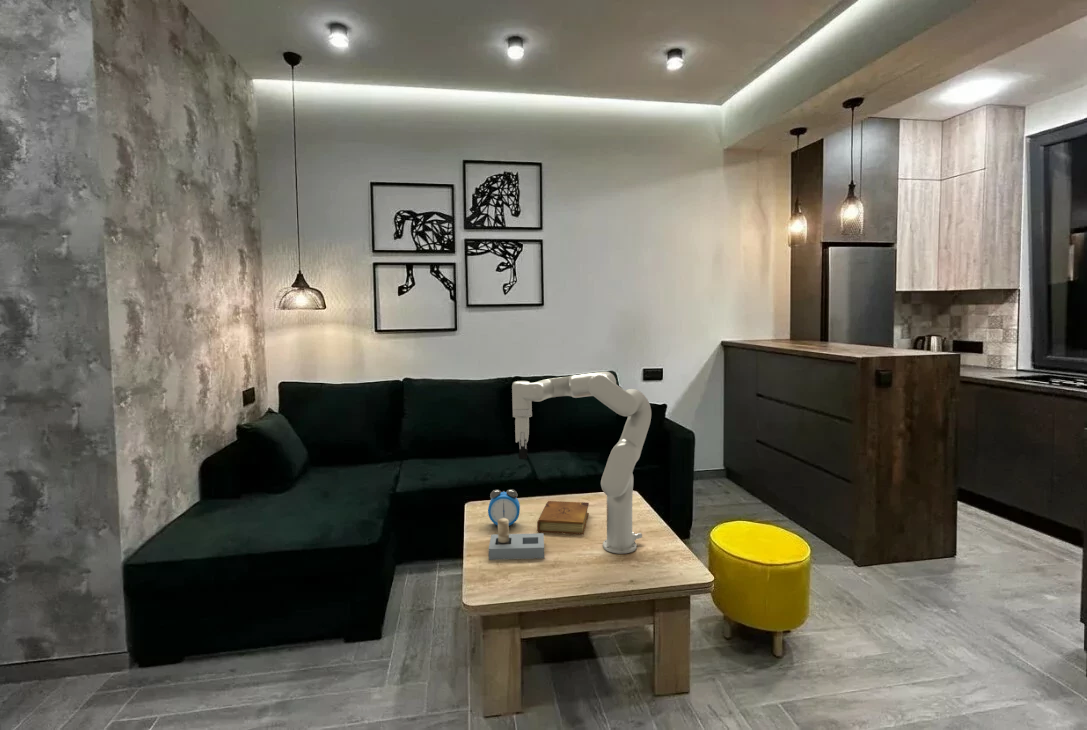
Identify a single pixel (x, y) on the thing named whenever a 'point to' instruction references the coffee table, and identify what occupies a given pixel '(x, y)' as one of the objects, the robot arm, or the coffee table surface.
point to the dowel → (503, 531)
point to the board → (517, 547)
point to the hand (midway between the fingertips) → (523, 458)
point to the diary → (563, 517)
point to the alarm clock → (504, 506)
